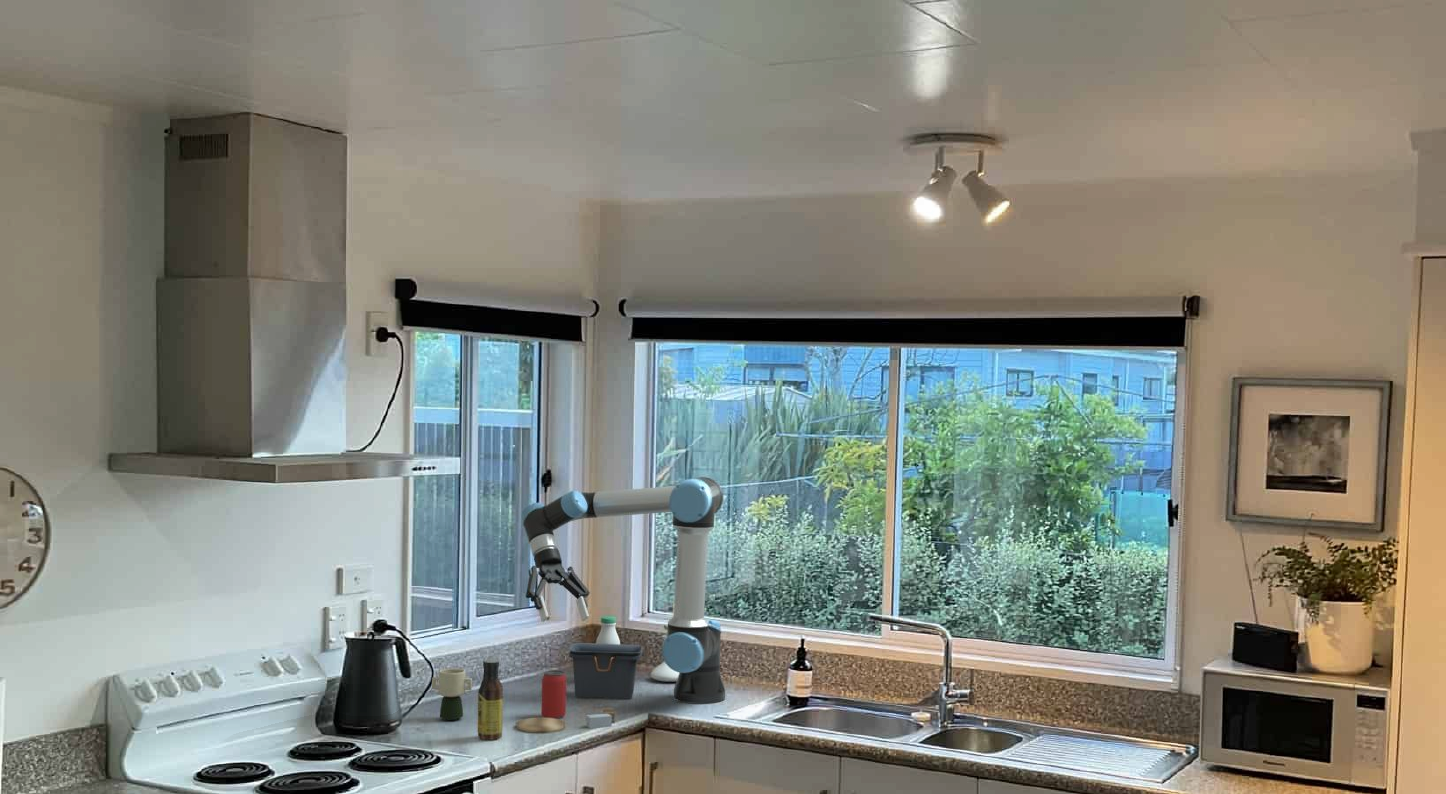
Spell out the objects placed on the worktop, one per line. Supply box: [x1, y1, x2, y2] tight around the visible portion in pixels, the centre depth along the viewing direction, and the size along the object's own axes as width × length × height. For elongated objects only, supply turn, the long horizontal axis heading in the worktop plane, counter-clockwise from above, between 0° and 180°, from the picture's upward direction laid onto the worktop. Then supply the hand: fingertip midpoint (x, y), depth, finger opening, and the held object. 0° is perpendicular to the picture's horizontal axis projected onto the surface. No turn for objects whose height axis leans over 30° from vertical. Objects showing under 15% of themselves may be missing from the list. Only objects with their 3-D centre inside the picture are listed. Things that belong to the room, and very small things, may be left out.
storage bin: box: [568, 642, 644, 700], centre depth 400 cm, size 21×16×14 cm
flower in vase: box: [650, 603, 679, 683], centre depth 425 cm, size 13×11×25 cm
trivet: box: [515, 717, 567, 734], centre depth 362 cm, size 13×13×1 cm
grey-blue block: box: [585, 713, 613, 729], centre depth 364 cm, size 6×3×3 cm, turn 114°
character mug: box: [431, 667, 473, 721], centre depth 369 cm, size 11×7×13 cm, turn 87°
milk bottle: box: [595, 615, 621, 644], centre depth 420 cm, size 8×8×20 cm
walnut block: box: [602, 707, 616, 724], centre depth 371 cm, size 6×3×3 cm, turn 7°
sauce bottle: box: [477, 658, 504, 741], centre depth 349 cm, size 7×6×20 cm
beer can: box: [540, 670, 567, 719], centre depth 374 cm, size 7×7×12 cm
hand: (565, 618), depth 384 cm, fingers open, 13 cm apart
